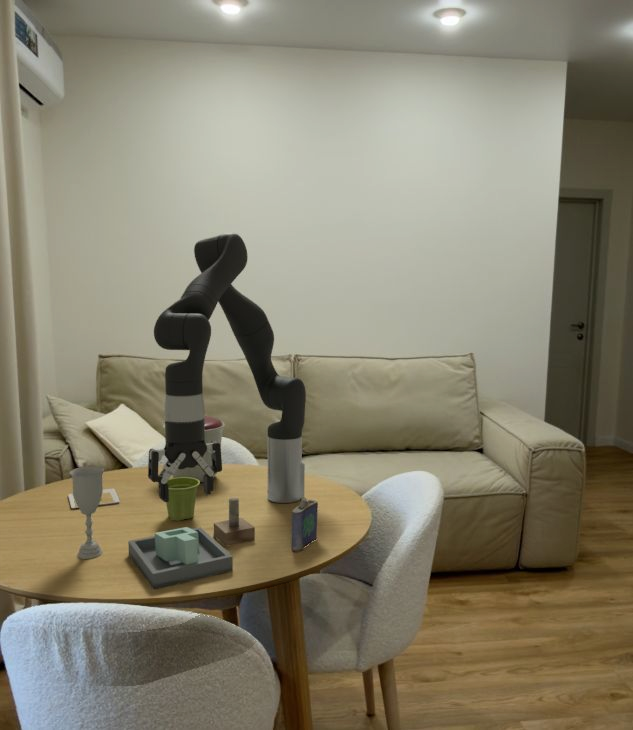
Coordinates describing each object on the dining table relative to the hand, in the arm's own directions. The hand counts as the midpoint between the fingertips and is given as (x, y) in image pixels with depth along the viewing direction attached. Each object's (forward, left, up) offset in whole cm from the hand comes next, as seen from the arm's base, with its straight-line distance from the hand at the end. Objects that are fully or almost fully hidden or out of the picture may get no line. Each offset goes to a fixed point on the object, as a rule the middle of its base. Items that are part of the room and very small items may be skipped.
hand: (186, 497), depth 123 cm
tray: (0, -5, -15) cm, 16 cm away
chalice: (+15, -18, -15) cm, 28 cm away
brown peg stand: (-15, -11, -15) cm, 24 cm away
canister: (-23, -59, -15) cm, 65 cm away
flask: (-27, 0, -15) cm, 31 cm away
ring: (0, -3, -13) cm, 13 cm away
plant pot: (-9, -30, -15) cm, 35 cm away
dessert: (+7, -54, -16) cm, 56 cm away
